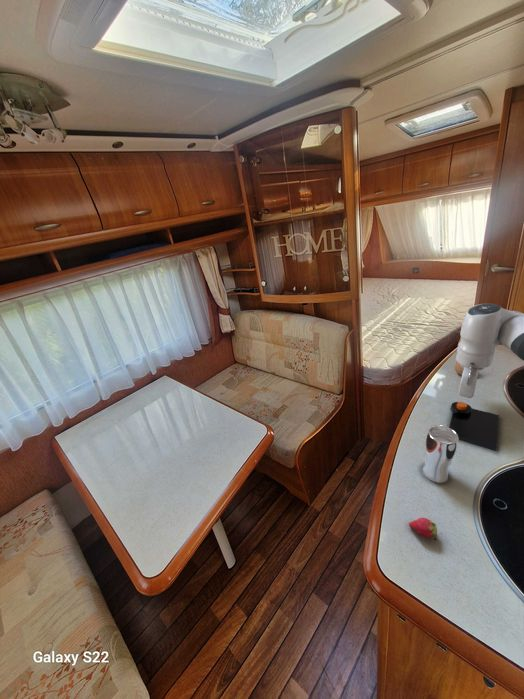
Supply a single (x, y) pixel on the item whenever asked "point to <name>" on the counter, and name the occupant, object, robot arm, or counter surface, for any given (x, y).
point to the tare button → (461, 406)
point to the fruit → (424, 528)
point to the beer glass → (439, 452)
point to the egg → (458, 368)
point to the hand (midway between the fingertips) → (465, 392)
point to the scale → (475, 426)
